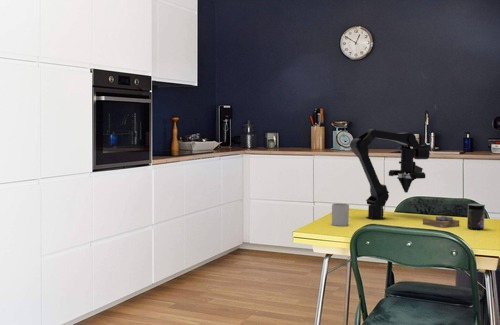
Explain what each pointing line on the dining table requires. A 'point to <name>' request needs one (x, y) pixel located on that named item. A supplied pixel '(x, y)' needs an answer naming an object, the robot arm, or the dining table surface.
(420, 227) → the dining table surface
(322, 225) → the dining table surface
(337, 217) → the cup
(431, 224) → the dock
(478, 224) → the supplement container
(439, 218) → the socket
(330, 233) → the dining table surface
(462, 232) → the dining table surface
